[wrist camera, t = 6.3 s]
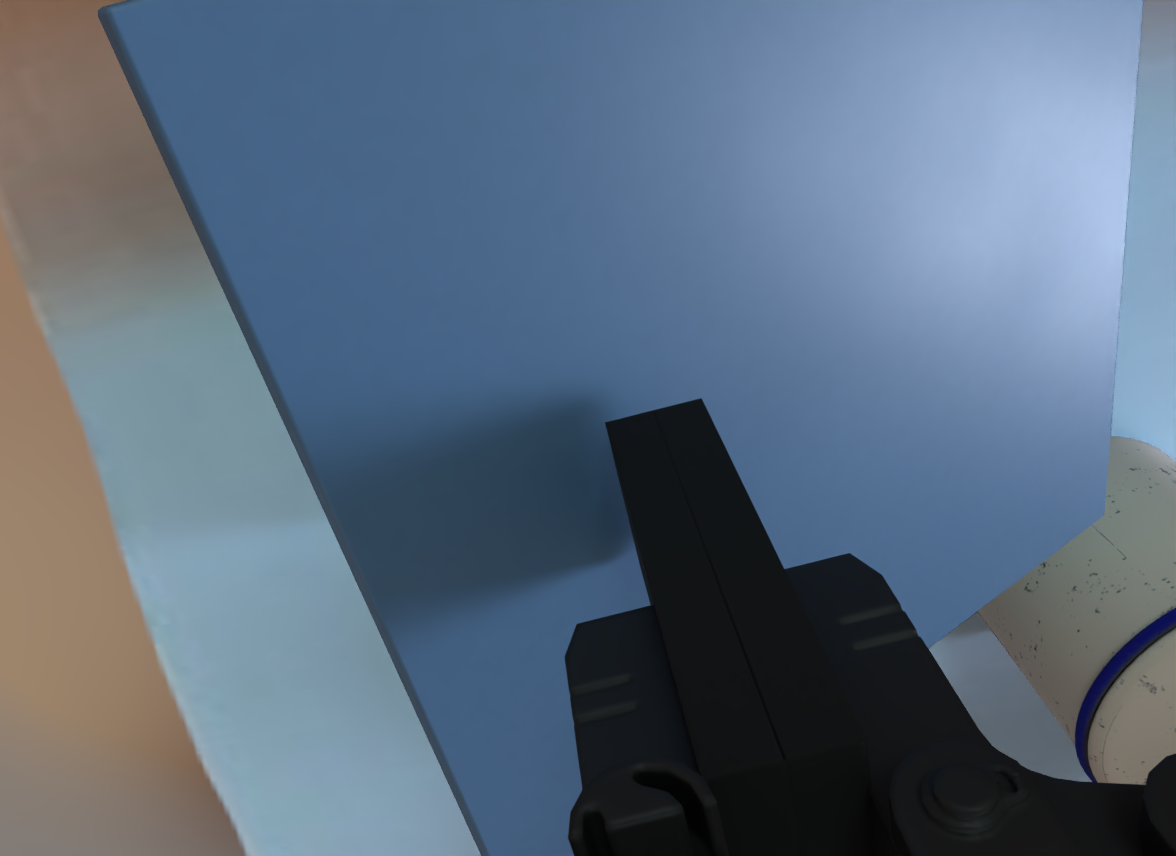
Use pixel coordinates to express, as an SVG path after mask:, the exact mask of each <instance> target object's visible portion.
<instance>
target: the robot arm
mask: <svg viewBox="0 0 1176 856" xmlns="http://www.w3.org/2000/svg"><path fill="white" fill-rule="evenodd" d="M605 425H606V429H607V433H608V437H609V441H610V445H611V449H612V453H613V458H614V462H615V466H616V470H617V474H618V478H619V482H620V486H621V490H622V494H623V498H624V503H625V507H626V511H627V515H628V519H629V523H630V527H631V531H632V535H633V539H634V543H635V548H636V552H637V556H638V560H639V564H640V567H641V571H642V575H643V579H644V582H645V586H646V590H647V594H648V597H649V601H650V606H646V607H642V608H638V609H634V610H630V611H626V612H622V613H618V614H614V615H610V616H606V617H602V618H598V619H594V620H590V621H586V622H582V623H578V624H576V627H575V630H574V632H573V635H572V638H571V641H570V643H569V646H568V649H567V652H566V654H565V665H566V672H567V679H568V687H569V692H570V701H571V709H572V716H573V721H574V731H575V738H576V746H577V753H578V760H579V768H580V775H581V783H582V791H581V793H580V795H579V797H578V799H577V801H576V803H575V804H574V806H573V808H572V810H571V812H570V822H569V832H568V840H569V843H570V845H571V848H572V851H573V853H574V856H1176V754H1173V755H1169V756H1166V757H1165V758H1164V759H1163V760H1162V761H1161V762H1160V763H1158V764H1157V765H1156V766H1155V767H1154V768H1153V769H1152V770H1151V771H1150V772H1149V773H1148V777H1147V781H1146V785H1140V784H1119V783H1098V782H1079V781H1071V780H1064V779H1057V778H1052V777H1049V776H1046V775H1043V774H1040V773H1037V772H1034V771H1031V770H1029V769H1027V768H1025V767H1023V766H1021V765H1020V764H1019V763H1018V762H1017V761H1016V760H1014V759H1012V758H1010V757H1008V756H1007V755H1005V754H1003V753H1001V752H999V751H998V750H997V749H996V748H994V747H993V746H992V745H991V744H990V743H989V742H988V740H987V739H986V738H985V737H984V735H983V734H982V733H981V732H980V730H979V729H978V727H977V726H976V724H975V723H974V721H973V719H972V718H971V716H970V715H969V713H968V711H967V710H966V708H965V707H964V705H963V703H962V702H961V700H960V699H959V697H958V695H957V694H956V692H955V691H954V689H953V687H952V686H951V684H950V683H949V681H948V679H947V678H946V676H945V675H944V673H943V671H942V670H941V668H940V667H939V665H938V664H937V662H936V660H935V659H934V657H933V656H932V654H931V652H930V651H929V649H928V648H927V646H926V644H925V643H924V641H923V640H922V638H921V636H920V637H919V636H918V634H917V630H916V628H915V627H914V625H913V624H912V622H911V620H910V619H909V617H908V616H907V614H906V612H905V611H903V610H902V608H901V604H900V603H899V601H898V600H897V598H896V596H895V595H894V593H893V592H892V590H891V588H890V587H889V585H888V584H887V582H886V580H885V579H884V577H883V576H882V574H880V573H879V572H877V571H876V570H874V569H873V568H871V567H870V566H868V565H867V564H865V563H864V562H862V561H861V560H859V559H858V558H856V557H855V556H853V555H852V554H851V553H847V554H843V555H839V556H835V557H831V558H827V559H823V560H819V561H815V562H811V563H807V564H803V565H799V566H795V567H791V568H787V569H784V567H783V565H782V563H781V561H780V559H779V557H778V555H777V553H776V551H775V549H774V547H773V545H772V542H771V540H770V538H769V536H768V534H767V532H766V530H765V528H764V526H763V524H762V522H761V520H760V518H759V516H758V514H757V512H756V509H755V507H754V505H753V503H752V501H751V499H750V497H749V495H748V493H747V491H746V489H745V487H744V485H743V483H742V481H741V478H740V476H739V474H738V472H737V470H736V468H735V466H734V464H733V462H732V460H731V458H730V456H729V454H728V452H727V450H726V447H725V445H724V443H723V441H722V439H721V437H720V435H719V433H718V431H717V429H716V427H715V425H714V423H713V421H712V419H711V416H710V414H709V412H708V410H707V408H706V406H705V404H704V402H703V400H702V398H700V399H696V400H692V401H688V402H684V403H680V404H676V405H672V406H668V407H664V408H660V409H656V410H652V411H648V412H644V413H641V414H637V415H633V416H629V417H625V418H621V419H617V420H613V421H609V422H605Z"/></svg>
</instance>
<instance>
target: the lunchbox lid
mask: <svg viewBox="0 0 1176 856" xmlns="http://www.w3.org/2000/svg"><path fill="white" fill-rule="evenodd" d="M1142 13H1143V0H126V1H123V2H119V3H115V4H111V5H108V6H104V7H102V8H100V9H99V10H98V17H99V19H100V22H101V24H102V26H103V28H104V30H105V32H106V35H107V37H108V39H109V41H110V43H111V46H112V48H113V50H114V52H115V54H116V57H117V59H118V61H119V63H120V65H121V68H122V70H123V72H124V74H125V76H126V78H127V81H128V83H129V85H130V87H131V89H132V92H133V94H134V96H135V98H136V100H137V103H138V105H139V107H140V109H141V111H142V114H143V116H144V118H145V120H146V122H147V124H148V127H149V129H150V131H151V133H152V135H153V138H154V140H155V142H156V144H157V146H158V149H159V151H160V153H161V155H162V157H163V160H164V162H165V164H166V166H167V168H168V170H169V173H170V175H171V177H172V179H173V181H174V184H175V186H176V188H177V190H178V192H179V195H180V197H181V199H182V201H183V203H184V205H185V208H186V210H187V212H188V214H189V216H190V219H191V221H192V223H193V225H194V227H195V230H196V232H197V234H198V236H199V238H200V241H201V243H202V245H203V247H204V249H205V251H206V254H207V256H208V258H209V260H210V262H211V265H212V267H213V269H214V271H215V273H216V276H217V278H218V280H219V282H220V284H221V287H222V289H223V291H224V293H225V295H226V297H227V300H228V302H229V304H230V306H231V308H232V311H233V313H234V315H235V317H236V319H237V322H238V324H239V326H240V328H241V330H242V333H243V335H244V337H245V339H246V341H247V343H248V346H249V348H250V350H251V352H252V354H253V357H254V359H255V361H256V363H257V365H258V368H259V370H260V372H261V374H262V376H263V379H264V381H265V383H266V385H267V387H268V389H269V392H270V394H271V396H272V398H273V400H274V403H275V405H276V407H277V409H278V411H279V414H280V416H281V418H282V420H283V422H284V424H285V427H286V429H287V431H288V433H289V435H290V438H291V440H292V442H293V444H294V446H295V449H296V451H297V453H298V455H299V457H300V460H301V462H302V464H303V466H304V468H305V470H306V473H307V475H308V477H309V479H310V481H311V484H312V486H313V488H314V490H315V492H316V495H317V497H318V499H319V501H320V503H321V506H322V508H323V510H324V512H325V514H326V516H327V519H328V521H329V523H330V525H331V527H332V530H333V532H334V534H335V536H336V538H337V541H338V543H339V545H340V547H341V549H342V552H343V554H344V556H345V558H346V560H347V562H348V565H349V567H350V569H351V571H352V573H353V576H354V578H355V580H356V582H357V584H358V587H359V589H360V591H361V593H362V595H363V598H364V600H365V602H366V604H367V606H368V608H369V611H370V613H371V615H372V617H373V619H374V622H375V624H376V626H377V628H378V630H379V633H380V635H381V637H382V639H383V641H384V643H385V646H386V648H387V650H388V652H389V654H390V657H391V659H392V661H393V663H394V665H395V668H396V670H397V672H398V674H399V676H400V679H401V681H402V683H403V685H404V687H405V689H406V692H407V694H408V696H409V698H410V700H411V703H412V705H413V707H414V709H415V711H416V714H417V716H418V718H419V720H420V722H421V725H422V727H423V729H424V731H425V733H426V735H427V738H428V740H429V742H430V744H431V746H432V749H433V751H434V753H435V755H436V757H437V760H438V762H439V764H440V766H441V768H442V771H443V773H444V775H445V777H446V779H447V781H448V784H449V786H450V788H451V790H452V792H453V795H454V797H455V799H456V801H457V803H458V806H459V808H460V810H461V812H462V814H463V817H464V819H465V821H466V823H467V825H468V827H469V830H470V832H471V834H472V836H473V838H474V841H475V843H476V845H477V847H478V849H479V852H480V854H481V856H574V853H573V851H572V848H571V845H570V843H569V840H568V832H569V822H570V812H571V810H572V808H573V806H574V804H575V803H576V801H577V799H578V797H579V795H580V793H581V791H582V783H581V775H580V768H579V760H578V753H577V746H576V738H575V731H574V721H573V716H572V709H571V701H570V692H569V687H568V679H567V672H566V665H565V654H566V652H567V649H568V646H569V643H570V641H571V638H572V635H573V632H574V630H575V627H576V624H578V623H582V622H586V621H590V620H594V619H598V618H602V617H606V616H610V615H614V614H618V613H622V612H626V611H630V610H634V609H638V608H642V607H646V606H650V601H649V597H648V594H647V590H646V586H645V582H644V579H643V575H642V571H641V567H640V564H639V560H638V556H637V552H636V548H635V543H634V539H633V535H632V531H631V527H630V523H629V519H628V515H627V511H626V507H625V503H624V498H623V494H622V490H621V486H620V482H619V478H618V474H617V470H616V466H615V462H614V458H613V453H612V449H611V445H610V441H609V437H608V433H607V429H606V425H605V422H609V421H613V420H617V419H621V418H625V417H629V416H633V415H637V414H641V413H644V412H648V411H652V410H656V409H660V408H664V407H668V406H672V405H676V404H680V403H684V402H688V401H692V400H696V399H700V398H702V400H703V402H704V404H705V406H706V408H707V410H708V412H709V414H710V416H711V419H712V421H713V423H714V425H715V427H716V429H717V431H718V433H719V435H720V437H721V439H722V441H723V443H724V445H725V447H726V450H727V452H728V454H729V456H730V458H731V460H732V462H733V464H734V466H735V468H736V470H737V472H738V474H739V476H740V478H741V481H742V483H743V485H744V487H745V489H746V491H747V493H748V495H749V497H750V499H751V501H752V503H753V505H754V507H755V509H756V512H757V514H758V516H759V518H760V520H761V522H762V524H763V526H764V528H765V530H766V532H767V534H768V536H769V538H770V540H771V542H772V545H773V547H774V549H775V551H776V553H777V555H778V557H779V559H780V561H781V563H782V565H783V567H784V569H787V568H791V567H795V566H799V565H803V564H807V563H811V562H815V561H819V560H823V559H827V558H831V557H835V556H839V555H843V554H847V553H851V554H852V555H853V556H855V557H856V558H858V559H859V560H861V561H862V562H864V563H865V564H867V565H868V566H870V567H871V568H873V569H874V570H876V571H877V572H879V573H880V574H882V576H883V577H884V579H885V580H886V582H887V584H888V585H889V587H890V588H891V590H892V592H893V593H894V595H895V596H896V598H897V600H898V601H899V603H900V604H901V608H902V610H903V611H905V612H906V614H907V616H908V617H909V619H910V620H911V622H912V624H913V625H914V627H915V628H916V630H917V634H918V636H919V637H920V636H921V638H922V640H923V641H924V643H925V644H926V646H927V648H929V647H931V646H932V645H933V644H935V643H936V642H937V641H939V640H940V639H941V638H943V637H944V636H945V635H947V634H948V633H949V632H951V631H952V630H953V629H955V628H956V627H957V626H959V625H960V624H961V623H963V622H964V621H965V620H967V619H968V618H969V617H971V616H972V615H973V614H974V613H976V612H977V611H978V610H980V609H981V608H982V607H984V606H985V605H986V604H988V603H989V602H990V601H992V600H993V599H994V598H996V597H997V596H998V595H1000V594H1001V593H1002V592H1004V591H1005V590H1006V589H1008V588H1009V587H1010V586H1012V585H1013V584H1014V583H1016V582H1017V581H1018V580H1019V579H1021V578H1022V577H1023V576H1025V575H1026V574H1027V573H1029V572H1030V571H1031V570H1033V569H1034V568H1035V567H1037V566H1038V565H1039V564H1041V563H1042V562H1043V561H1045V560H1046V559H1047V558H1049V557H1050V556H1051V555H1053V554H1054V553H1055V552H1057V551H1058V550H1059V549H1061V548H1062V547H1063V546H1064V545H1066V544H1067V543H1068V542H1070V541H1071V540H1072V539H1074V538H1075V537H1076V536H1078V535H1079V534H1080V533H1082V532H1083V531H1084V530H1086V529H1087V528H1088V527H1090V526H1091V525H1092V524H1094V523H1095V522H1096V521H1098V520H1099V519H1100V518H1102V517H1103V516H1104V514H1105V501H1106V488H1107V475H1108V462H1109V449H1110V435H1111V422H1112V409H1113V396H1114V383H1115V369H1116V356H1117V343H1118V330H1119V316H1120V303H1121V290H1122V277H1123V264H1124V250H1125V237H1126V224H1127V211H1128V198H1129V184H1130V171H1131V158H1132V145H1133V131H1134V118H1135V105H1136V92H1137V79H1138V65H1139V52H1140V39H1141V26H1142Z"/></svg>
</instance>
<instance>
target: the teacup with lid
mask: <svg viewBox="0 0 1176 856" xmlns="http://www.w3.org/2000/svg"><path fill="white" fill-rule="evenodd" d="M978 612H979V614H980V615H981V617H982V618H983V619H984V621H985V622H986V623H987V625H988V626H989V628H990V629H991V630H992V632H993V633H994V634H995V636H996V637H997V639H998V640H999V641H1000V643H1001V644H1002V645H1003V647H1004V648H1005V650H1006V651H1007V652H1008V654H1009V655H1010V656H1011V658H1012V659H1013V661H1014V662H1015V663H1016V665H1017V666H1018V667H1019V669H1020V670H1021V671H1022V673H1023V674H1024V676H1025V677H1026V678H1027V680H1028V681H1029V682H1030V684H1031V685H1032V687H1033V688H1034V689H1035V691H1036V692H1037V693H1038V695H1039V696H1040V698H1041V699H1042V700H1043V702H1044V703H1045V704H1046V706H1047V707H1048V709H1049V710H1050V711H1051V713H1052V714H1053V715H1054V717H1055V718H1056V720H1057V721H1058V722H1059V724H1060V725H1061V726H1062V728H1063V729H1064V730H1065V732H1066V733H1067V735H1068V736H1069V737H1070V739H1071V740H1072V741H1073V743H1074V744H1075V747H1076V752H1077V757H1078V759H1079V762H1080V764H1081V766H1082V768H1083V770H1084V771H1085V773H1086V774H1087V776H1088V777H1089V778H1090V779H1091V781H1092V782H1098V783H1119V784H1140V785H1146V781H1147V777H1148V773H1149V772H1150V771H1151V770H1152V769H1153V768H1154V767H1155V766H1156V765H1157V764H1158V763H1160V762H1161V761H1162V760H1163V759H1164V758H1165V757H1166V756H1169V755H1173V754H1176V461H1174V460H1173V459H1172V458H1170V457H1169V456H1168V455H1166V454H1165V453H1164V452H1162V451H1161V450H1159V449H1157V448H1155V447H1154V446H1152V445H1150V444H1147V443H1145V442H1142V441H1139V440H1135V439H1131V438H1124V437H1113V436H1110V449H1109V462H1108V475H1107V488H1106V501H1105V514H1104V516H1103V517H1102V518H1100V519H1099V520H1098V521H1096V522H1095V523H1094V524H1092V525H1091V526H1090V527H1088V528H1087V529H1086V530H1084V531H1083V532H1082V533H1080V534H1079V535H1078V536H1076V537H1075V538H1074V539H1072V540H1071V541H1070V542H1068V543H1067V544H1066V545H1064V546H1063V547H1062V548H1061V549H1059V550H1058V551H1057V552H1055V553H1054V554H1053V555H1051V556H1050V557H1049V558H1047V559H1046V560H1045V561H1043V562H1042V563H1041V564H1039V565H1038V566H1037V567H1035V568H1034V569H1033V570H1031V571H1030V572H1029V573H1027V574H1026V575H1025V576H1023V577H1022V578H1021V579H1019V580H1018V581H1017V582H1016V583H1014V584H1013V585H1012V586H1010V587H1009V588H1008V589H1006V590H1005V591H1004V592H1002V593H1001V594H1000V595H998V596H997V597H996V598H994V599H993V600H992V601H990V602H989V603H988V604H986V605H985V606H984V607H982V608H981V609H980V610H978Z"/></svg>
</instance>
